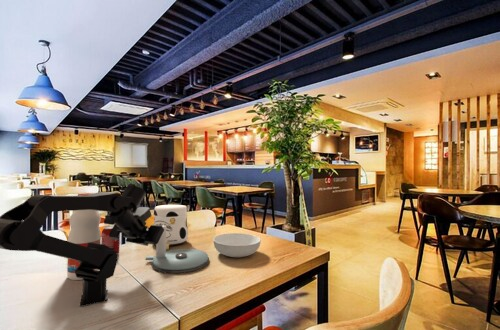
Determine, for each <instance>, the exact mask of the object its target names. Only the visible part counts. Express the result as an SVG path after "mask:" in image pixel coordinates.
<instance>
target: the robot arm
mask: <svg viewBox="0 0 500 330" xmlns="http://www.w3.org/2000/svg"><path fill="white" fill-rule="evenodd" d="M92 193H93V194H90V195H86V196H78V195H50V194H49V195H45V194H33V195H32V196H30V197H28V198H27V199H26V200H25V201H23V202H22V203H21V204H19V205H16V206H15V207H12V209H9V210H8V211H6V212H4V213H3V214H1V215H0V249H1V250H6V251H14V252H15V251H16V252H17V251H18V252H31V251H32V252H33V251H35V252H40V253H44V254H47V255H50V256H51V255H52V256H57V257H61V258H66V259H67V260H68V259H73V260H76V261H78V262H79V263H80V265H79V266H78V268H77V269H76V270H75V274H76V277H77V278H83V279H82V294H81V298H80V302H79V307H85V306H89V305H93V304H98V303H104V302H107V301H108V299H109V297H108V293H109V291H108V289H107V279H109V278H112V277H113V276H114V274H115V271H116V268H117V267H116V266H117V264H118V259H119V258H118V254H117V252H116V251H115V250H114V249H115V248H114V247H108V246H106V245H104V244H97V243H90V242H89V243H88V246H87V247H85V246H82V245H78V244H75V243H72V242H68V240H64V239H61V238H58V237H54V236H52V235H51V236H50V235H48V234H45V233H44V232H43V231H42V230H41V228H43V226H44V224H45V222H46V220H47V218H48V217H49V215H50V214H52V213H53V212H72V211H73V212H74V211H75V210H96V211H98V212H106V213H107V212H108V214H106V215H104V219H103V224H104V225H109V226H110V225H114V227H113V228H112V230H111V231H110V233H109V237H110V238H111V239H113V240H119V238H120V237H121V236H120V237H119V234H120V235H121V234H122V237H123V238H125V242H127V243H131V244H137V245H141V246H145V247H147V246H149V245H155V246H156V244H157V243H158V242H159V240H160V238H161V236H162V234H163V232H164V228H163V227H162V225H154V224H151V225H150V227H149V226H147V225H146V224H147V222H146V221H147V220H149V219H150V218H151V217H152V212H151V208H150V207H148V206H147V207H146V206H145V207H144V206H140V204H141V202H142V200H143V199H144V198H145V196H146V195H147V194H146V193H147V192H146V191H145V189H143V188H141V187H140V186H137V185H136V184H135V183H128V184H127V186H126V188H125V190H124V191H123V193H122V194H121V193H118V192H109V191H107V192H106V191H99V192H92ZM138 206H139V207H138ZM93 269H98V270H99V271H97V270H93Z"/></svg>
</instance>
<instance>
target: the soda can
mask: <svg viewBox="0 0 500 330" xmlns="http://www.w3.org/2000/svg"><path fill="white" fill-rule="evenodd" d="M114 225H115V224H114ZM114 225H110V224H109V225H105V226H103V229H102V231H101V244H104V245H106V246H108V247H114V248H115V249H114V250H115V251H116V252H117V255H119V254H120V247H121V246H120V243H121V242H120V238H119V240H113V239H111V238H110V237H109V233H110V231H111V230H112V228H113V227H114ZM119 237H121V233H120V234H119Z"/></svg>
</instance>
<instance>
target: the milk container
mask: <svg viewBox="0 0 500 330" xmlns="http://www.w3.org/2000/svg"><path fill="white" fill-rule="evenodd" d="M187 213H188V207H187V205H182V204H163V205H157V206H155V207H154V211H153V225H165V226H166V242H169V247H170V246H171V247H173V246H178V245H182V244H184V243H185V242H187V240H188V238H189V228H188V223H187V221H188V214H187Z"/></svg>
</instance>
